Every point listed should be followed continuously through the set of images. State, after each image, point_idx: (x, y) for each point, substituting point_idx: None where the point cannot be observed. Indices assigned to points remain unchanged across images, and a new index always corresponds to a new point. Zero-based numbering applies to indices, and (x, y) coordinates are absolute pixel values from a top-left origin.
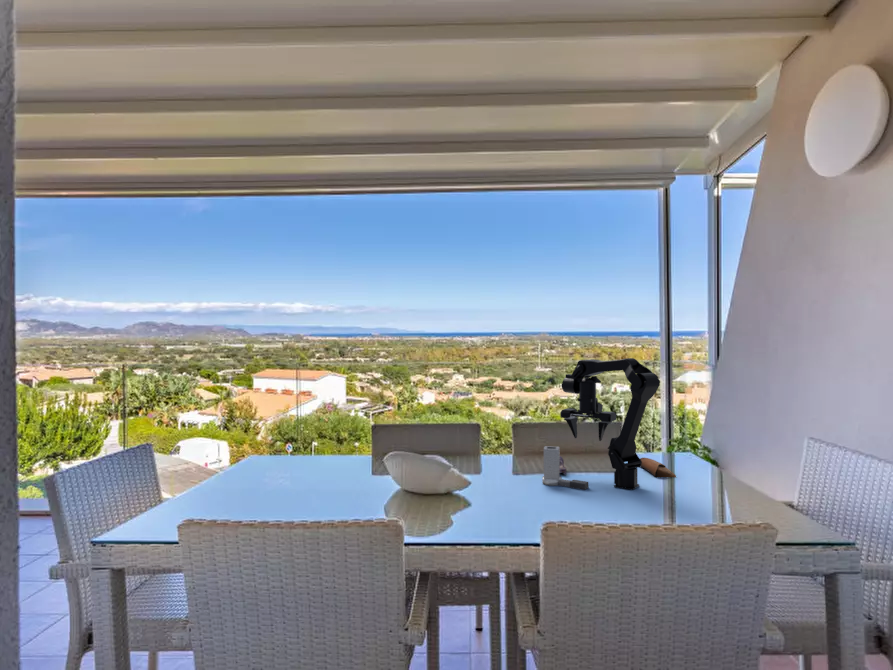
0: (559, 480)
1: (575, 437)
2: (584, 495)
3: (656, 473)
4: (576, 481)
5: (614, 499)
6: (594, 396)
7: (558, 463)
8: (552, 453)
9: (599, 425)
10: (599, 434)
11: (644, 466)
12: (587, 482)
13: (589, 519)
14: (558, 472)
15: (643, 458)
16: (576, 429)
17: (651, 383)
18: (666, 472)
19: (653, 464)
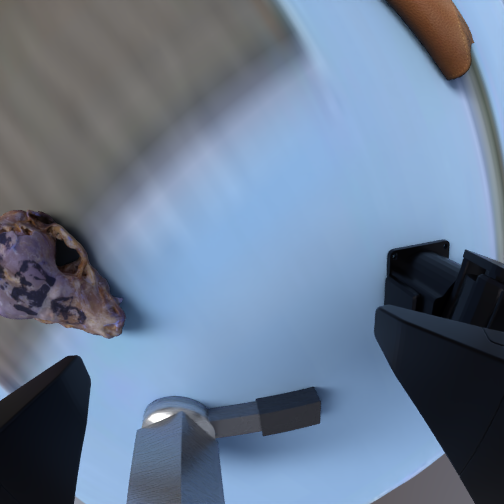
0: (215, 435)
1: (89, 389)
2: (334, 437)
3: (456, 76)
4: (282, 423)
5: (409, 405)
6: None
7: (221, 490)
8: None
9: (480, 491)
10: (420, 397)
11: None
12: (320, 407)
13: (387, 488)
14: (218, 462)
15: None
16: (39, 421)
17: None
18: (470, 50)
19: (435, 9)
